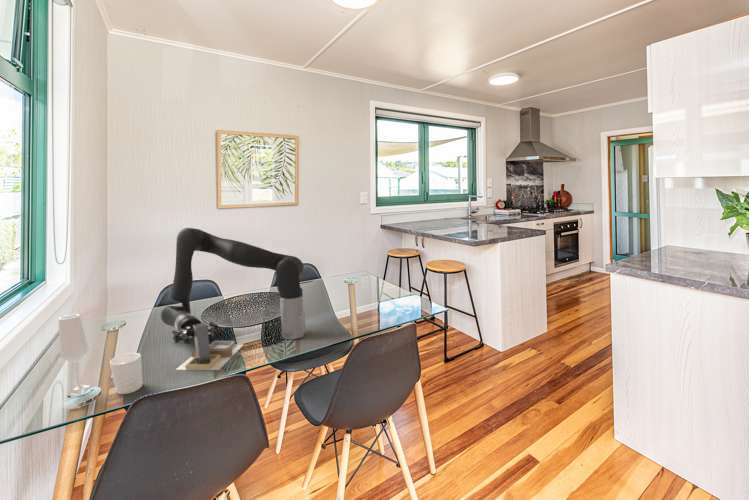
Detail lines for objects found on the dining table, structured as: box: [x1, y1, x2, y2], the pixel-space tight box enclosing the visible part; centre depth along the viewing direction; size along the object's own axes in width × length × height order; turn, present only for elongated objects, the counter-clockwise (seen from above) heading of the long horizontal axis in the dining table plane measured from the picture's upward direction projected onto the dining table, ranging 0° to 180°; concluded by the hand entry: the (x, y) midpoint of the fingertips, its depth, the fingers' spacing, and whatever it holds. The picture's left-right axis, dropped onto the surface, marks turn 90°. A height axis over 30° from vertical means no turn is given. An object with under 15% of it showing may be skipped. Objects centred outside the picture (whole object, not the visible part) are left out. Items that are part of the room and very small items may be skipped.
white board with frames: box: [175, 340, 245, 371], centre depth 130 cm, size 20×15×4 cm
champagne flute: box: [58, 313, 90, 390], centre depth 108 cm, size 7×7×24 cm
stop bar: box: [193, 322, 211, 364], centre depth 123 cm, size 4×4×14 cm
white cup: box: [109, 352, 143, 395], centre depth 110 cm, size 8×8×10 cm
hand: (201, 337), depth 122 cm, fingers open, 8 cm apart
